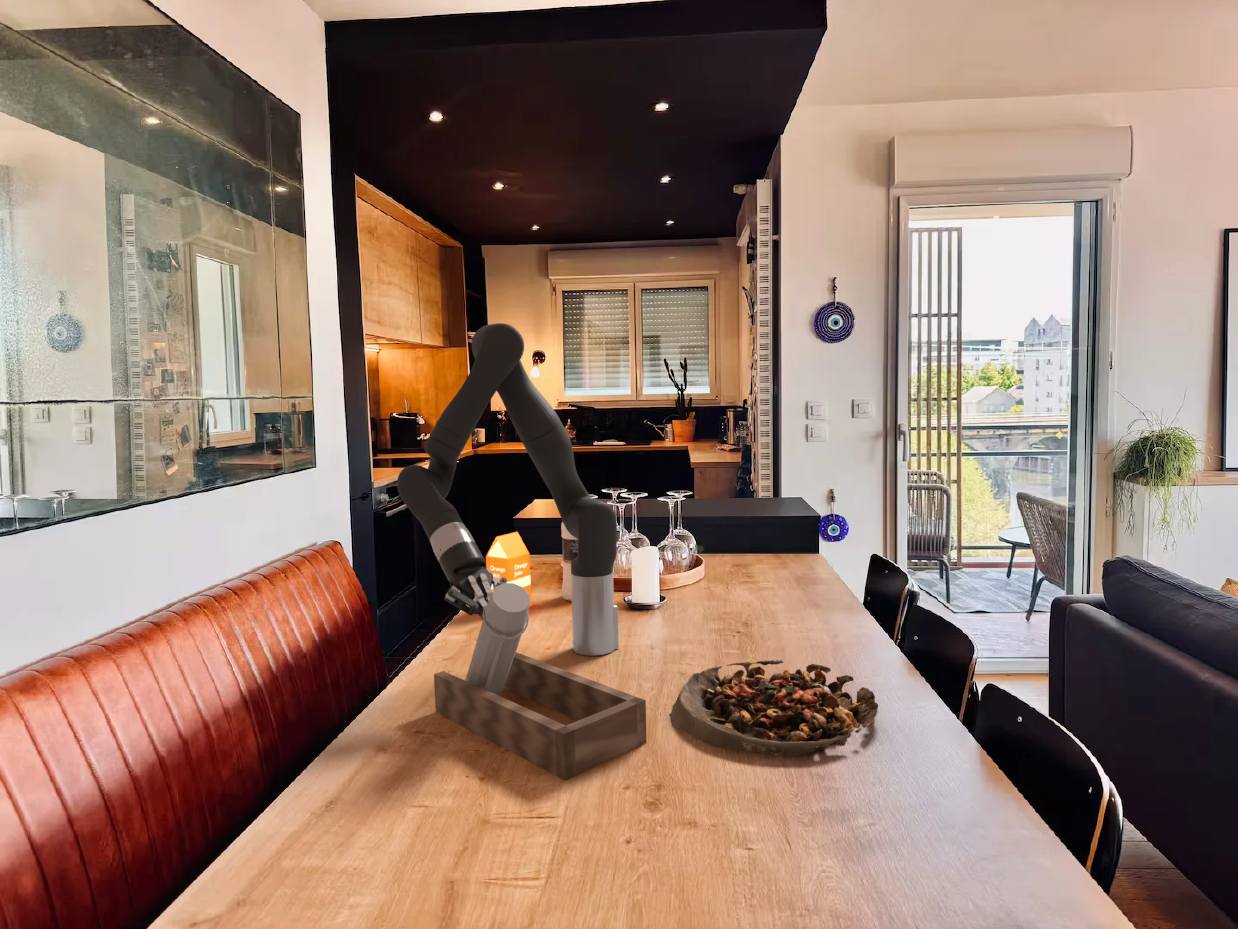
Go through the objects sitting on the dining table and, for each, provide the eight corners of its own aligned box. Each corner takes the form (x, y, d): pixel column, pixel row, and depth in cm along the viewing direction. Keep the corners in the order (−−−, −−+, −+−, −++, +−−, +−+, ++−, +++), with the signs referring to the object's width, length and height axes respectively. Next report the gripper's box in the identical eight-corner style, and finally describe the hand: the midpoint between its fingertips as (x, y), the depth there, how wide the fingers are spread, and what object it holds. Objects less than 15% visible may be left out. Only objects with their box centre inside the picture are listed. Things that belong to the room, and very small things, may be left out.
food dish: (878, 696, 145) (880, 656, 144) (875, 785, 114) (877, 734, 113) (694, 672, 156) (694, 634, 155) (645, 747, 125) (645, 700, 124)
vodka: (584, 591, 222) (581, 487, 219) (601, 598, 214) (598, 490, 211) (555, 597, 217) (552, 490, 214) (572, 604, 209) (569, 493, 206)
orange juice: (531, 606, 207) (529, 532, 206) (510, 614, 200) (507, 538, 198) (509, 602, 212) (506, 530, 210) (487, 610, 204) (484, 535, 202)
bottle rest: (435, 712, 139) (433, 673, 138) (512, 685, 151) (511, 650, 150) (565, 780, 113) (564, 734, 113) (646, 742, 125) (645, 700, 124)
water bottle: (465, 668, 146) (491, 576, 131) (506, 675, 147) (536, 586, 133) (457, 709, 138) (484, 617, 124) (500, 717, 140) (532, 627, 125)
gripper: (432, 545, 139) (473, 625, 131) (494, 534, 148) (535, 609, 140) (418, 570, 143) (457, 649, 135) (479, 558, 152) (519, 632, 145)
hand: (497, 629), depth 138 cm, fingers closed
